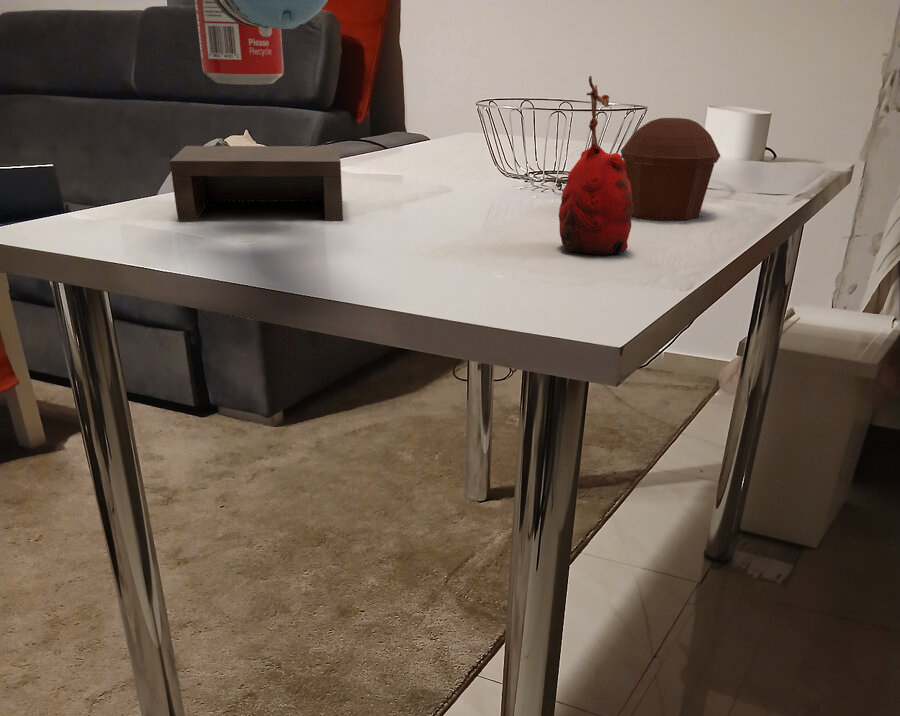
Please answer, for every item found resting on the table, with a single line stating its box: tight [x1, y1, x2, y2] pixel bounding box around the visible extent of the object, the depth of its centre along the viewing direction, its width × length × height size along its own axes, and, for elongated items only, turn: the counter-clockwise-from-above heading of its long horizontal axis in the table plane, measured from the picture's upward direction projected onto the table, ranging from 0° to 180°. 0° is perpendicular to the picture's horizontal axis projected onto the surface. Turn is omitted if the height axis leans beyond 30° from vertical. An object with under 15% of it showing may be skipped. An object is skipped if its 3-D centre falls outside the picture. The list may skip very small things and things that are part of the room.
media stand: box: [169, 145, 344, 222], centre depth 104 cm, size 18×14×6 cm
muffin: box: [620, 117, 721, 221], centre depth 105 cm, size 12×11×10 cm
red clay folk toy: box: [558, 75, 634, 256], centre depth 85 cm, size 8×7×15 cm
